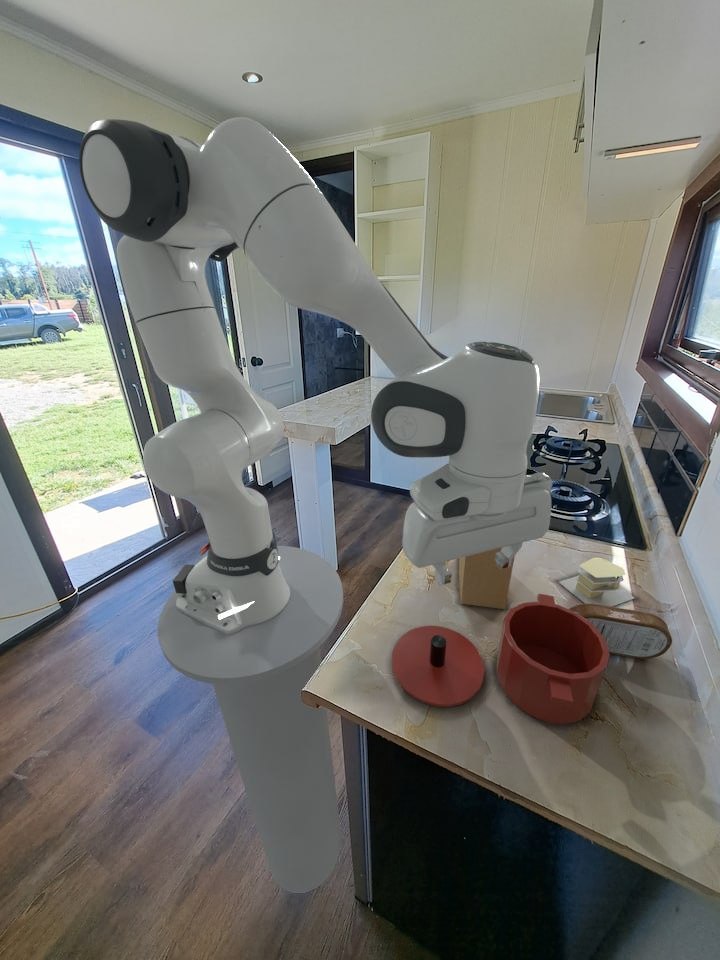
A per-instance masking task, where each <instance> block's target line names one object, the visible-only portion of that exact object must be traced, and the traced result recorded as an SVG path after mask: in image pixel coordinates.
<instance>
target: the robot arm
mask: <svg viewBox="0 0 720 960" xmlns="http://www.w3.org/2000/svg"><path fill="white" fill-rule="evenodd" d="M78 165H79V166H78V167H79V174H80V178H81V182H82V186H83V189H84V192H85V194H86V196H87V199H88V200H89V203H90V204H91V206H92V208H93V210H94V211H95V213H96V214H97V215H98V217H99V218H100V219H101V221H102V222H103V223H104V224H105V225H106V226H108V227H109V228H110V229H112V230H114V231H116V232H117V233H119V234H121V235H123V236H122V237H120V238H119V241H118V243H117V247H116V257H117V263H118V268H119V274H120V278H121V281H122V286H123V290H124V293H125V297H126V300H127V302H128V306H129V308H130V312H131V314H132V317H133V319H134V323H135V324H136V327H137V331H138V332H139V335H140V338H141V340H142V342H143V345H144V347H145V350H146V352H147V355H148V357H149V360H150V362H151V365H152V367H153V370H154V373H155V375H156V376H157V377H158V378H159V379H160V380H161V381H162V382H163V383H165V384H166V385H168V386H170V387H172V388H176V389H179V390H182V391H184V392H185V393H186V394H187V395H188V396H190V397H191V399H192V400H193V401H194V403H195V404H196V406H197V408H198V409H199V412H200V413H197V414H195V415H192V416H189V417H186V418H183V419H180V420H178V421H175V422H173V423H171V424H170V425H168V426H167V427H165V428H164V429H162V430H161V431H159V432H158V433H156V434H155V435H153V436H152V437H151V438H149V439H148V440H147V441H146V443H145V445H144V448H143V453H142V456H143V457H142V461H143V467H144V469H145V472H146V474H147V476H148V478H149V479H150V481H151V483H152V484H153V485H154V486H155V487H156V488H157V489H158V490H160V491H161V492H163V493H165V494H167V495H168V496H171V497H174V498H177V499H182V500H185V501H187V502H189V503H190V504H192V505H193V507H195V508H196V509H197V511H198V512H199V514H200V517H201V518H202V521H203V524H204V527H205V531H206V533H207V537H208V541H207V542H206V544H205V545H204V546H203V547H202V548H201V549H200V550H199V552H201V553H200V556H201V557H203V555H204V554H206V553H207V555H205V556H204V557H203V558H201V560H199V561H198V562H197V563H196V564H183V567H182V568H181V569H180V570H179V572H178V573H177V575H176V576H175V577H174V578H173V580H172V584H173V587H174V591H176V593H180V595H179V597H178V599H177V601H176V609H177V610H179V611H180V612H182V613H184V614H186V615H188V616H190V617H192V618H194V619H196V620H198V621H200V622H202V623H204V624H206V625H208V626H210V627H212V628H214V629H216V630H218V631H220V632H222V633H224V634H226V635H230V634H233V633H236V632H238V631H239V630H241V629H243V628H245V627H248V626H252V625H256V624H259V623H262V622H265V621H267V620H269V619H271V618H273V617H274V616H276V615H277V614H278V613H279V612H281V611H282V610H283V609H284V607H285V606H286V605H287V603H288V601H289V598H290V587H289V585H288V584H287V582H286V580H285V578H284V576H283V573H282V571H281V568H280V565H279V562H278V560H280V556H278V548H277V546H278V543H277V538H276V534H275V532H274V531H273V528H272V522H271V516H270V510H269V509H270V508H269V504H268V500H267V498H266V497H265V496H264V495H263V494H262V493H261V492H259V491H258V490H257V489H254V488H252V487H247V486H245V484H244V482H243V478H242V477H243V472H244V470H245V469H247V468H248V467H250V466H251V465H254V464H255V463H257V462H259V461H260V460H262V459H263V458H265V457H267V456H268V455H269V454H270V453H272V451H273V450H274V449H275V448H276V447H277V445H278V444H279V443H280V442H281V440H282V439H283V437H284V432H285V424H284V420H283V417H282V414H281V413H280V411H279V410H278V409H277V406H276V405H274V404H273V403H272V402H271V401H269V400H266V399H264V398H263V397H261V396H260V395H259V394H258V393H257V392H256V391H255V390H254V389H253V388H252V387H251V385H250V384H249V383H248V382H247V380H246V379H245V378H244V376H243V374H242V373H241V371H240V369H239V368H238V366H237V364H236V362H235V359H234V357H233V355H232V352H231V350H230V347H229V344H228V341H227V339H226V336H225V333H224V330H223V327H222V325H221V321H220V318H219V315H218V312H217V310H216V307H215V306H216V305H215V303H214V301H213V300H214V299H213V297H212V295H211V292H210V289H209V286H208V282H207V278H206V265H207V262H208V260H209V259H210V260H211V261H212V260H213V261H214V262H218V263H221V262H223V261H225V260H226V259H227V258H228V257H229V256H230V255H231V254H232V253H233V252H234V251H235V250H237V249H239V250H240V252H241V253H242V255H243V256H244V257H245V259H246V260H247V262H248V263H249V264H250V265H251V266H252V268H253V269H254V271H255V272H256V273H257V275H258V276H259V277H260V279H261V280H262V281H263V282H264V284H265V285H267V287H269V289H271V290H272V291H273V292H274V293H275V294H276V295H277V296H278V297H279V298H281V299H282V300H283V301H284V302H285V303H286V304H288V305H290V306H292V307H295V308H297V309H300V310H303V311H307V312H312V313H316V314H319V315H323V316H326V317H329V318H332V319H335V320H337V321H339V322H341V323H344V324H345V325H348V326H349V327H351V328H352V329H353V330H355V331H356V332H357V333H358V334H359V335H360V336H361V337H362V338H363V339H364V340H365V342H367V344H368V345H369V346H370V347H371V349H372V350H373V352H375V353H376V355H377V356H378V358H380V360H381V361H382V362H383V363H384V365H385V366H386V368H388V370H390V372H391V373H392V374H393V376H394V378H395V379H393V380H392V381H390V382H389V383H388V384H386V385H385V386H384V387H382V389H381V390H380V391H379V392H378V393H377V394H376V395H375V397H374V400H373V402H372V405H371V411H370V421H371V425H372V429H373V431H374V434H375V435H376V437H377V439H378V441H379V442H380V443H381V444H382V445H383V446H384V448H386V449H387V450H388V451H390V452H391V453H393V454H395V455H397V456H401V457H404V458H420V459H421V458H422V459H423V458H442V457H449V458H448V463H446V464H444V465H443V466H441V467H440V468H438V469H436V470H434V471H433V472H431V473H429V474H427V475H425V476H423V477H421V478H419V479H417V480H416V481H414V482H412V483H411V484H410V488H409V495H410V497H411V498H412V500H413V502H412V503H410V505H409V506H408V507H407V509H406V512H405V516H404V522H403V529H402V540H401V542H402V545H401V546H402V551H403V553H404V555H405V557H406V558H407V560H408V561H409V562H410V563H411V564H412V565H413V566H415V567H416V568H419V569H423V568H426V567H430V566H432V567H433V568H434V578H435V581H436V582H437V583H438V585H439V586H444V585H447V584H450V583H452V576H453V575H452V572H451V571H450V570H448V567H447V565H446V562H450V561H453V560H458V559H459V558H462V557H466V556H470V555H474V554H478V553H482V552H486V551H490V550H494V549H498V548H502V547H503V548H502V549H501V552H497V553H496V554H495V557H496V558H495V560H494V561H495V564H496V565H497V566H499V568H500V569H504V568H508V567H511V563H512V558H513V557H514V556H515V557H516V555H517V553H518V552H519V551H520V550H521V548H522V547H523V543H526V542H529V541H533V540H538V539H541V538H543V537H544V536H545V535H546V534H547V533H548V531H549V529H550V524H551V516H552V497H551V492H552V488H553V481H552V479H551V477H550V476H549V475H547V474H545V472H534V473H533V474H527V470H528V463H529V462H528V455H527V449H528V444H529V441H530V439H531V437H532V435H533V433H534V430H535V426H536V425H535V424H536V419H537V411H538V404H539V395H540V370H539V367H538V364H537V362H536V361H535V359H534V357H533V356H532V355H531V354H530V353H528V352H527V351H526V350H524V349H521V348H519V347H516V346H513V345H509V344H505V343H500V342H494V341H493V342H492V341H473V342H470V343H468V344H466V345H465V346H464V347H463V348H462V349H460V350H459V351H457V352H455V353H454V354H452V355H451V356H447V355H445V354H443V353H442V352H441V351H439V350H438V349H437V348H436V347H434V346H433V345H432V344H431V343H430V342H429V341H428V340H427V338H426V337H425V336H424V335H423V333H422V332H421V330H419V327H417V326H416V325H415V323H414V322H413V320H412V319H411V318H410V317H409V316H408V314H407V313H406V312H405V310H404V308H402V306H401V305H400V304H399V302H398V301H397V300H396V298H395V297H394V296H393V295H392V293H391V292H390V291H389V290H388V289H387V287H386V286H385V285H384V283H382V282H381V280H380V279H379V277H378V276H377V274H376V272H375V270H374V269H373V268H372V267H371V265H370V263H369V262H368V261H367V259H366V258H365V256H364V255H363V253H362V252H361V251H360V249H359V248H358V246H357V244H356V243H355V241H354V239H353V238H352V237H351V235H350V233H349V232H348V230H347V229H346V227H345V226H344V224H343V222H342V221H341V219H340V218H339V216H338V215H337V213H336V211H335V210H334V208H333V207H332V205H331V204H330V203H329V201H328V200H327V199H326V197H325V196H324V193H323V192H322V191H321V190H320V188H319V187H318V185H317V184H316V183H315V181H314V180H313V179H312V177H311V176H310V175H309V173H308V172H307V171H306V169H305V168H304V167H303V166H302V165H301V164H300V162H299V161H298V160H297V159H296V157H295V156H294V155H293V154H292V153H291V152H290V151H289V150H288V149H287V147H285V146H284V145H283V143H281V141H280V140H279V139H278V138H277V137H276V136H275V135H274V134H272V132H271V131H269V130H268V128H266V127H265V126H264V125H262V124H261V123H260V122H258V121H257V120H255V119H252V118H249V117H245V116H237V117H231V118H228V119H226V120H224V121H222V122H220V123H219V124H218V125H216V126H215V128H213V129H212V131H211V132H210V133H209V134H208V136H207V137H206V139H205V141H204V143H203V144H200V143H199V142H196V141H194V140H192V139H190V138H187V137H184V136H180V135H174V134H171V133H168V132H164V131H161V130H158V129H156V128H153V127H150V126H148V125H146V124H143V123H141V122H139V121H134V120H129V119H128V120H127V119H119V118H118V119H117V118H115V119H113V118H112V119H111V118H108V119H100V120H97V121H95V122H93V123H92V124H90V126H89V127H88V128H87V129H86V131H85V132H84V135H83V138H82V141H81V143H80V147H79V154H78Z"/></svg>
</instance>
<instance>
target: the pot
mask: <svg viewBox="0 0 720 960" xmlns="http://www.w3.org/2000/svg"><path fill="white" fill-rule="evenodd" d="M536 599H537V601H528V602H521V603H520V604H518V605H516V606H513V607H512V608H510V609H509V610H508V612H507V614H506V615H505V617H504V619H503V623H502V628H501V634H500V640H499V646H498V650H497V657H496V668H495V670H496V676H497V680H498V683H499V685H500V687H501V689H502V691H503V692H504V694H505V695H506V696H507V697H508V699H509V700H510V701H511V702H512V703H513V704H515V706H516V707H517V708H518V709H520V710H522V711H523V712H525V714H528V715H529V716H531V717H533V718H535V719H538V720H540V721H543V722H547V723H550V724H556V725H568V724H574V723H576V722H579V721H581V720H583V719H584V718H585V717H586V716H587V715H588V714H589V713H590V712H591V711H592V708H593V705H594V702H595V699H596V697H597V694H598V692H599V689H600V686H601V683H602V681H603V678H604V675H605V673H606V670H607V668H608V667H607V666H608V664H609V660H610V657H611V653H609V650H608V647H607V644H606V641H605V638H604V637H603V636H602V635H601V633H600V632H599V631H598V630H597V629H596V627H595V626H594V625H593V624H592V623H590V622H589V621H587V620H586V619H585V618H583V617H582V616H581V615H579V614H578V613H576V612H574V611H572V610H569V609H570V608H567V607H564V606H562V605H560V604H557V603H556V601H555V596H554V595H550V594H543V593H538V594H537V596H536Z"/></svg>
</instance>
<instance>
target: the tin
mask: <svg viewBox="0 0 720 960" xmlns="http://www.w3.org/2000/svg"><path fill="white" fill-rule="evenodd" d="M568 609H569V610H572V611H574V612H576V613H578V614H579V615H581V616H582V617H583V618H585V619H586V620H587V621H589V622H590V623H592V624H593V625H594V626H595V627H596V629H597V630H598V631H599V632H600V633H601V635H602V636H603V637H604V638H605V641H606V644H607V647H608V650H609V654H610V655H616V656H622V657H626V658H632V659H637V660H651V659H655V658H657V657H660V656H662V655H664V654H666V653H667V651H669V649H670V648H671V646H672V644H673V637H672V635H671V632H670V631H669V627H668V624H667V623H666V622H665V620H664V619H663V618H661V617H659V616H658V615H656V614H653V613H650V612H646V611H641V610H636V609H635V610H634V609H628V608H624V607H617V606H606V605H600V604H594V603H580V604H576V605H574V606H573V605H572V606H571V607H569V608H568Z"/></svg>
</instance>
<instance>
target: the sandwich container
mask: <svg viewBox="0 0 720 960" xmlns="http://www.w3.org/2000/svg"><path fill="white" fill-rule="evenodd" d="M502 548H503V547H502ZM502 548H498V549H494V550H490V551H486V552H482V553H478V554H474V555H470V556H466V557H462V558H458V559H459V560H458V561H459V562H458V564H459V565H458V576H459V580H458V581H459V595H460V597H459V598H460V604H461V605H466V606H467V605H469V606H474V607H482V608H483V607H484V608H492V609H500V610H505V609H506V604H507V599H508V595H509V588H510V583H511V578H512V573H513V568H514V562H515V557H516V555H515V556H514V557H513V558H512V563H511V567H508V568H504V569H500V568H499V566H497V565H496V564H495V561H494V560H495V558H496V557H495V554H496V553H497V552H501V549H502Z"/></svg>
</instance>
